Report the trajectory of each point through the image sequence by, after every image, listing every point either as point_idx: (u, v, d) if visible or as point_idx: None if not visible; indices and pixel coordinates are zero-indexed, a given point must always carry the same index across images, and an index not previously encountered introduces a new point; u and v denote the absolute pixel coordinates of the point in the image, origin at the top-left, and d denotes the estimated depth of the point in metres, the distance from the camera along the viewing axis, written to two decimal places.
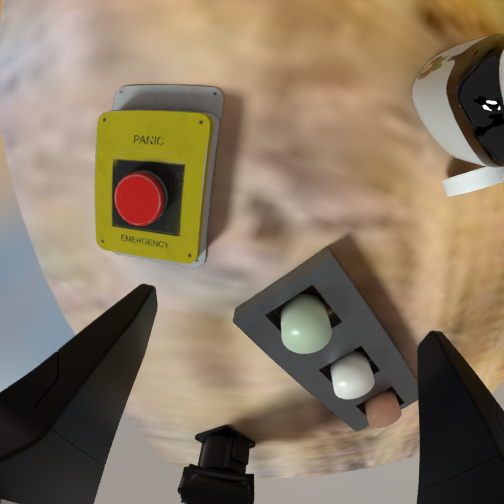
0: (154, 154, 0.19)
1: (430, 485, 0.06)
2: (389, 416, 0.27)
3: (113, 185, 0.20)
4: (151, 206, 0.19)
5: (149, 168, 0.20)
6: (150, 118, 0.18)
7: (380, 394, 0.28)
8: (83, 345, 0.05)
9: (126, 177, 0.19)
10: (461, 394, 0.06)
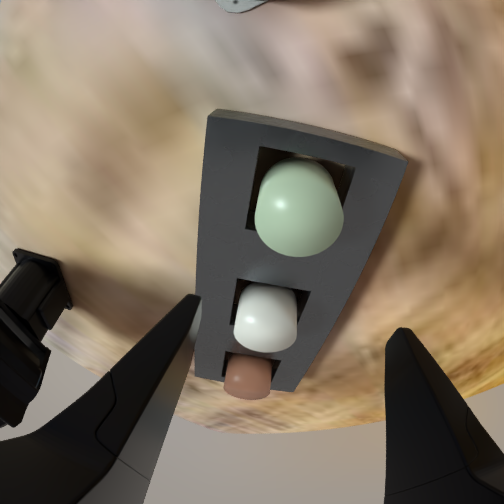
0: None
1: (396, 492, 0.06)
2: (252, 391, 0.23)
3: None
4: None
5: None
6: None
7: (260, 358, 0.24)
8: (139, 363, 0.06)
9: None
10: (427, 397, 0.06)
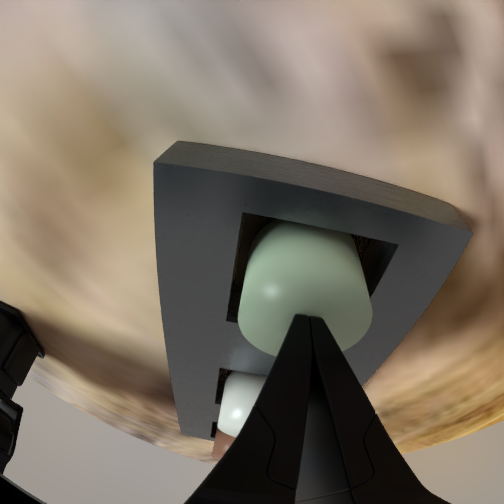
0: None
1: (299, 501, 0.05)
2: None
3: None
4: None
5: None
6: None
7: None
8: (282, 392, 0.06)
9: None
10: (325, 396, 0.06)
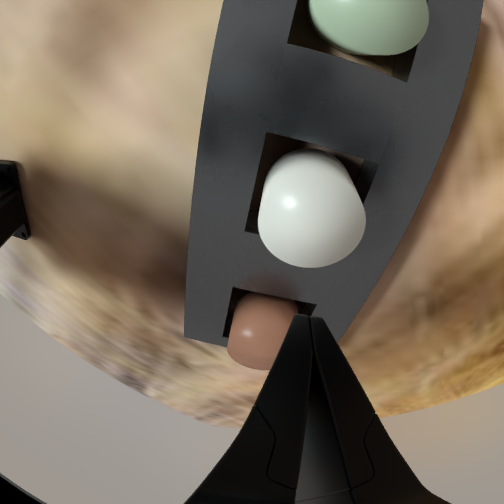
0: None
1: (299, 501, 0.05)
2: (272, 354, 0.16)
3: None
4: None
5: None
6: None
7: (285, 302, 0.17)
8: (282, 392, 0.06)
9: None
10: (325, 396, 0.06)
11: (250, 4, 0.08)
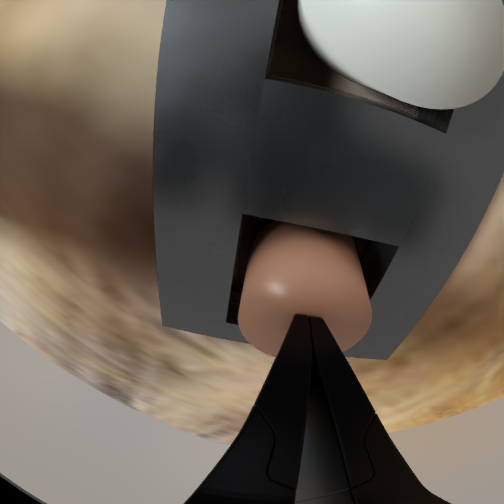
0: None
1: (299, 501, 0.05)
2: None
3: None
4: None
5: None
6: None
7: (339, 233, 0.09)
8: (282, 392, 0.06)
9: None
10: (325, 396, 0.06)
11: None
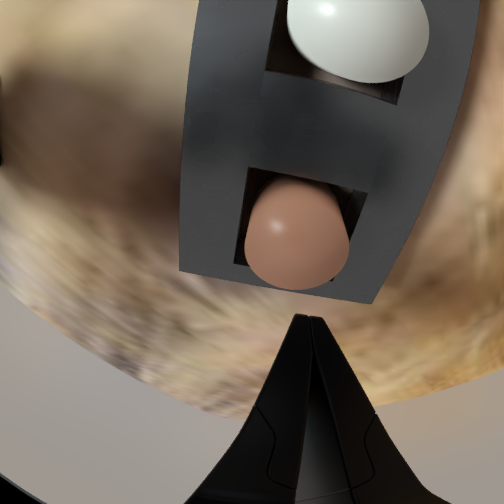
0: None
1: (299, 501, 0.05)
2: (311, 254, 0.11)
3: None
4: None
5: None
6: None
7: (322, 185, 0.12)
8: (283, 392, 0.06)
9: None
10: None
11: None
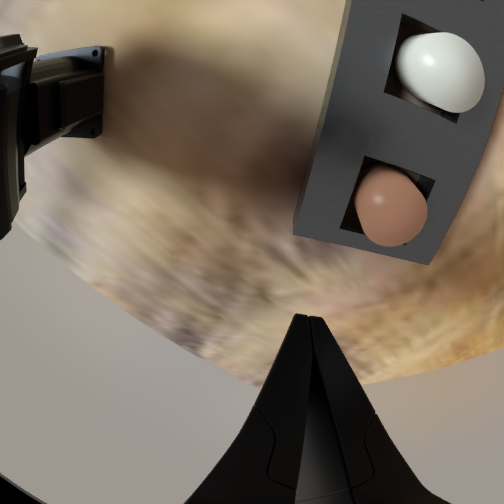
0: None
1: (299, 501, 0.05)
2: (403, 219, 0.15)
3: None
4: None
5: None
6: None
7: (404, 173, 0.15)
8: (282, 392, 0.06)
9: None
10: (325, 396, 0.06)
11: None
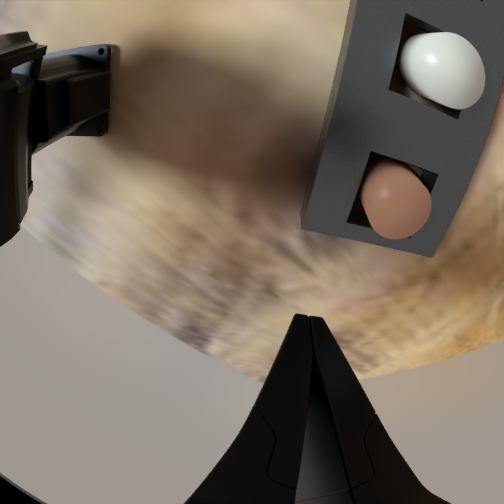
0: None
1: (299, 501, 0.05)
2: (408, 212, 0.15)
3: None
4: None
5: None
6: None
7: (408, 168, 0.16)
8: (282, 392, 0.06)
9: None
10: None
11: None
